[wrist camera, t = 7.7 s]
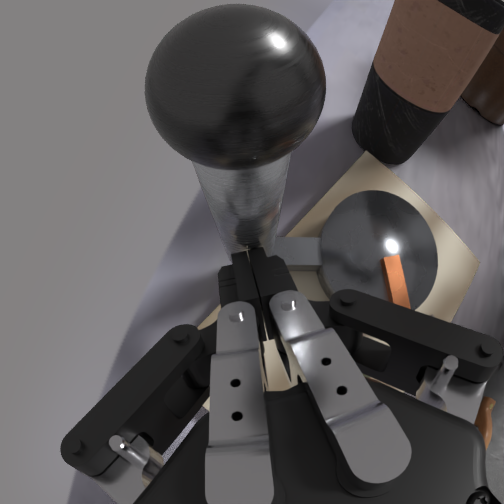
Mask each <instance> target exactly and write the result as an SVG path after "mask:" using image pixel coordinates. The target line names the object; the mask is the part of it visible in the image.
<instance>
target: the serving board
mask: <svg viewBox="0 0 504 504" xmlns="http://www.w3.org/2000/svg"><path fill="white" fill-rule="evenodd" d="M474 425H475V426H476V427H477V428H478V430H479V431H480V432H481V434H482V436H483V438H484V441H485V446H486V477H487V482H488V486H489V489H490V491H491V492H492V494H493V495H494V496H495V497H496V498H497V499H498V500H499V501H500V502H501V503H502V504H504V356H503V357H502V360H501V362H500V363H499V365H498V366H497V368H496V369H495V371H494V373H493V374H492V375H491V377H490V378H489V380H488V381H487V383H486V385H485V388H484V392H483V396H482V400H481V403H480V407H479V410H478V413H477V416H476V419H475V422H474Z"/></svg>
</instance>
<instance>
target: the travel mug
mask: <svg viewBox="0 0 504 504" xmlns="http://www.w3.org/2000/svg"><path fill="white" fill-rule="evenodd" d="M503 27H504V2H503V1H502V0H395V2H394V4H393V7H392V10H391V13H390V16H389V19H388V21H387V24H386V27H385V30H384V33H383V35H382V38H381V41H380V43H379V46H378V49H377V51H376V54H375V57H374V60H373V63H372V66H371V69H370V72H369V75H368V78H367V81H366V84H365V87H364V90H363V93H362V96H361V98H360V101H359V104H358V107H357V110H356V113H355V116H354V119H353V123H352V131H353V135H354V138H355V139H356V141H357V143H358V144H359V146H360V147H361V148H362V149H363V150H364V151H368V152H369V153H370V154H371V155H373V156H374V157H375V158H376V159H377V160H379V161H382V162H384V163H389V164H399V163H403V162H405V161H407V160H408V159H409V158H410V157H411V156H412V155H413V154H414V153H415V151H416V150H417V149H418V148H419V147H420V146H421V145H422V143H423V142H424V141H425V140H426V139H427V137H428V136H429V135H430V134H431V133H432V131H433V130H434V129H435V128H436V127H437V125H438V124H439V123H440V122H441V121H442V119H443V118H444V117H445V116H446V114H447V113H448V112H449V111H450V109H451V108H452V107H453V105H454V104H455V102H456V101H457V100H458V98H459V97H460V95H461V94H462V92H463V91H464V89H465V88H466V87H467V85H468V84H469V82H470V81H471V79H472V78H473V76H474V75H475V73H476V71H477V70H478V68H479V67H480V65H481V64H482V62H483V61H484V59H485V57H486V56H487V54H488V53H489V51H490V49H491V48H492V46H493V44H494V43H495V41H496V39H497V38H498V36H499V34H500V33H501V31H502V29H503Z"/></svg>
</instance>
